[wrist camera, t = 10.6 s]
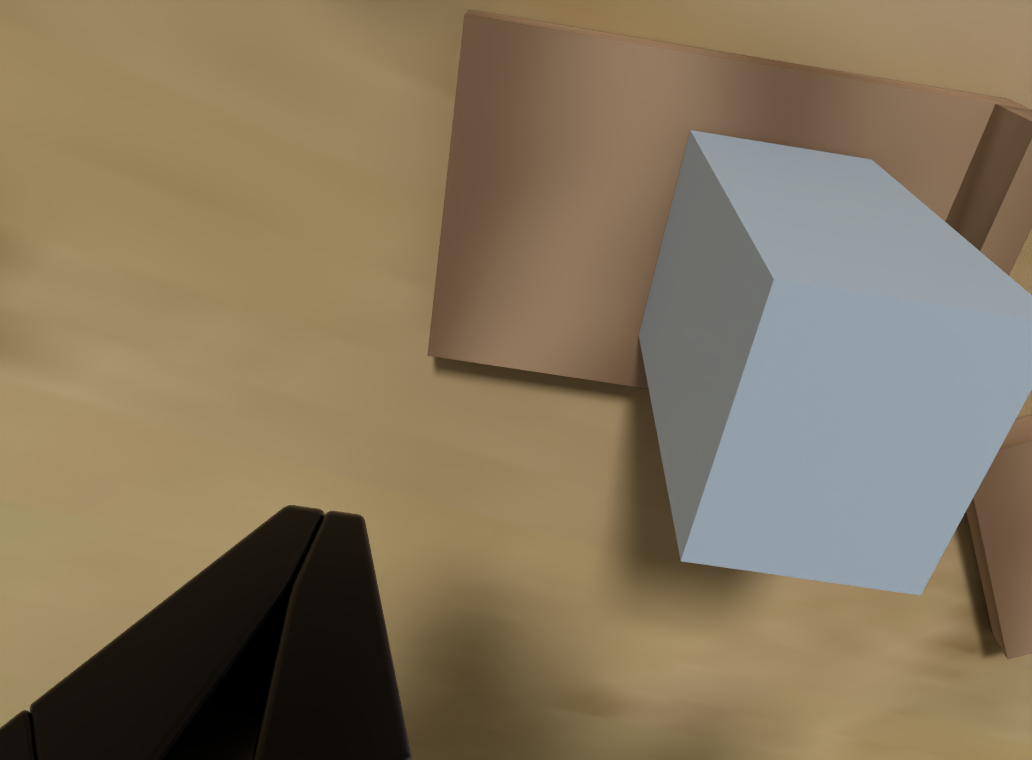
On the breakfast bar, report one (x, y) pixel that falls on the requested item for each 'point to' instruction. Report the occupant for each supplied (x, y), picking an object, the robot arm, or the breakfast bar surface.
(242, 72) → the breakfast bar surface
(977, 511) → the plinth
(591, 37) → the plinth
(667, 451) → the blue block
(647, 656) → the breakfast bar surface
